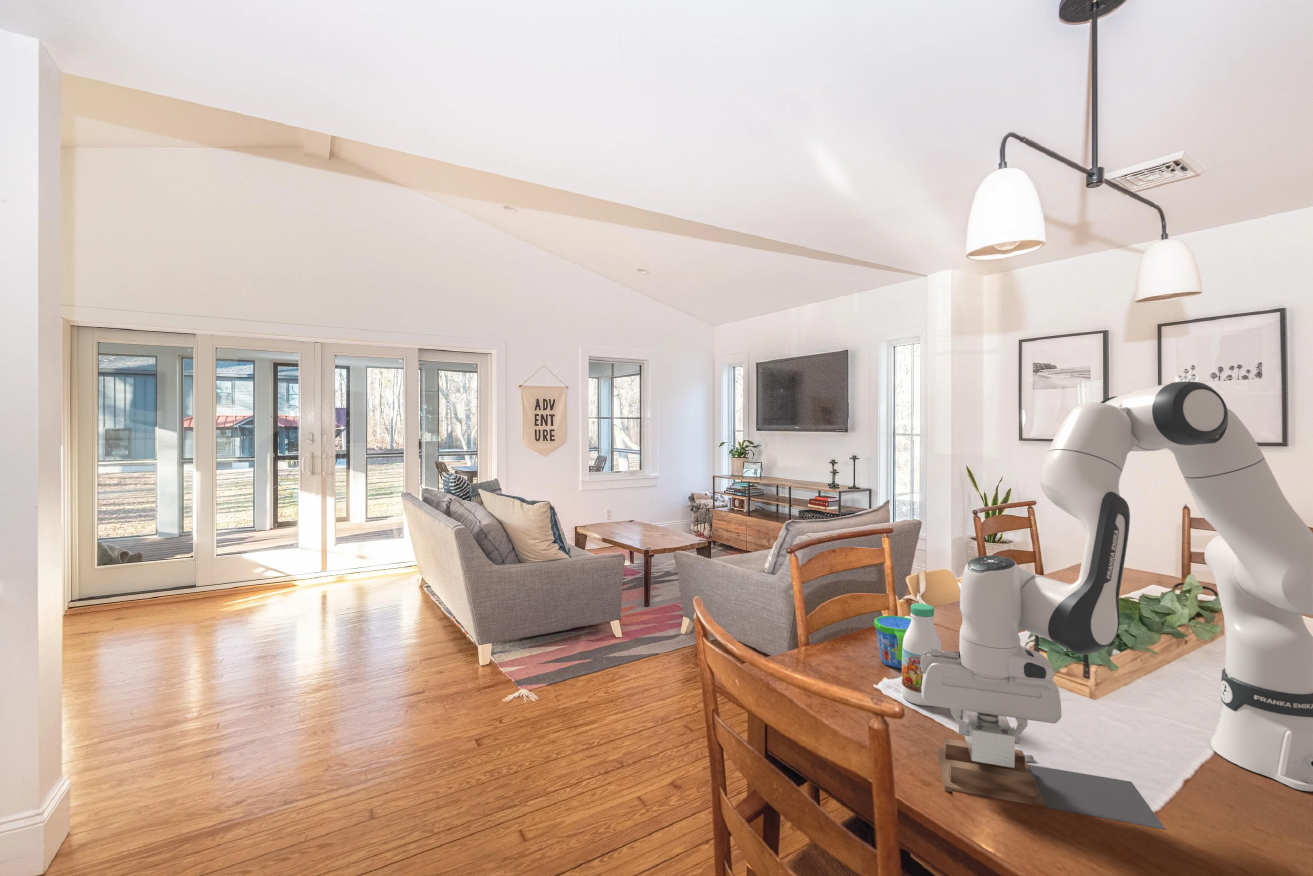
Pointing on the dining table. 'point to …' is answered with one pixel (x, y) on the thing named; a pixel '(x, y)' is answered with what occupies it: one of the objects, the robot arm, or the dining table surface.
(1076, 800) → the bench mat
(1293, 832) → the dining table surface
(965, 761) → the stand
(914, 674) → the milk bottle
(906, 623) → the snack cup
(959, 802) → the dining table surface
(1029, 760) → the pin
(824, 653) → the dining table surface
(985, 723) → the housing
